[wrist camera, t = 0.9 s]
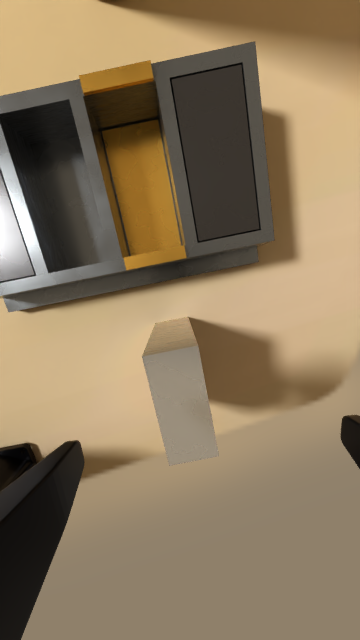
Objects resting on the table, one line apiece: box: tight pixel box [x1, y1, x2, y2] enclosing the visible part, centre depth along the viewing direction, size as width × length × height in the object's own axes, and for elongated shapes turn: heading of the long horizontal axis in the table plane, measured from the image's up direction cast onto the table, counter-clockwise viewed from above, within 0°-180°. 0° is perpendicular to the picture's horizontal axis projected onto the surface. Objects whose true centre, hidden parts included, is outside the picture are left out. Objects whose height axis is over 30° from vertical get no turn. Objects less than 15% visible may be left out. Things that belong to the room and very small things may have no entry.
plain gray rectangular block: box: [142, 317, 219, 465], centre depth 16 cm, size 3×7×8 cm, turn 11°
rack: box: [0, 42, 274, 312], centre depth 15 cm, size 21×13×4 cm, turn 101°
